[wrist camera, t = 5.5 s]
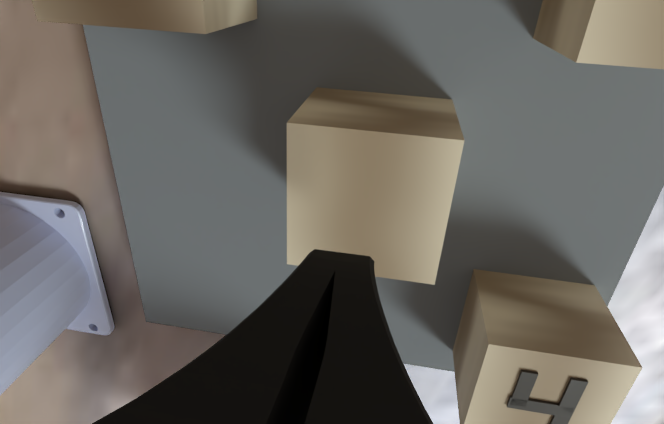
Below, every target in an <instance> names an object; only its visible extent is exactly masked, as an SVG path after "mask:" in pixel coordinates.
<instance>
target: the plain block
mask: <svg viewBox="0 0 664 424" xmlns="http://www.w3.org/2000/svg"><path fill="white" fill-rule="evenodd" d="M464 141H465V140H464V137H463V134H462V130H461V127H460V124H459V120H458V117H457V114H456V110H455V107H454V104H453V100H452V99H441V98H430V97H419V96H408V95H397V94H385V93H374V92H363V91H352V90H341V89H330V88H318V87H316V89H315V90H314V91H313V92H312V93H311V95H310V96H309V97H308V98H307V99H306V100H305V102H304V103H303V104H302V105H301V106H300V108H299V109H298V110H297V111H296V112H295V113H294V115H293V116H292V117H291V118H290V119H289V120H288V122H287V264H289V265H296V266H299V265H300V263H301V262H302V261H303V260H304V259H305V258H306V256H307V255H308V254H309V253H310V252H311V251H313V250H314V249H318V250H326V251H333V252H341V253H349V254H357V255H365V256H370V257H371V258H372V259H373V260H374V272H375V277H382V278H390V279H397V280H404V281H411V282H418V283H425V284H432V285H435V280H436V276H437V271H438V266H439V261H440V256H441V252H442V247H443V242H444V237H445V232H446V227H447V223H448V218H449V213H450V208H451V203H452V198H453V194H454V189H455V184H456V179H457V174H458V170H459V165H460V160H461V155H462V150H463V145H464Z"/></svg>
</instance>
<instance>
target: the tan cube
mask: <svg viewBox="0 0 664 424" xmlns="http://www.w3.org/2000/svg"><path fill="white" fill-rule="evenodd" d="M32 3H33V7H34V11H35V15H36V18H37V21H42V22H55V23H68V24H81V25H94V26H107V27H120V28H133V29H146V30H159V31H172V32H185V33H198V34H208V33H211V32H215V31H218V30H222V29H225V28H228V27H232V26H235V25H238V24H242V23H245V22H248V21H252V20H255V19H257V0H32Z"/></svg>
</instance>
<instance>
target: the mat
mask: <svg viewBox="0 0 664 424" xmlns="http://www.w3.org/2000/svg"><path fill="white" fill-rule="evenodd" d="M542 2H543V0H257V19H255V20H252V21H248V22H245V23H242V24H238V25H235V26H232V27H228V28H225V29H222V30H218V31H215V32H211V33H208V34H198V33H185V32H172V31H159V30H146V29H133V28H120V27H107V26H94V25H83V28H84V32H85V37H86V42H87V47H88V51H89V56H90V61H91V65H92V70H93V75H94V79H95V84H96V89H97V93H98V98H99V103H100V107H101V112H102V117H103V122H104V126H105V131H106V136H107V140H108V145H109V150H110V154H111V159H112V164H113V168H114V173H115V178H116V182H117V187H118V192H119V196H120V201H121V206H122V211H123V215H124V220H125V225H126V229H127V234H128V239H129V243H130V248H131V253H132V257H133V262H134V267H135V271H136V276H137V281H138V286H139V290H140V295H141V300H142V304H143V309H144V314H145V318H146V322H151V323H158V324H164V325H170V326H176V327H182V328H188V329H195V330H201V331H207V332H213V333H219V334H225V335H227V334H228V333H229V332H230V331H232V330H233V329H234V328H235V327H236V326H237V325H238V324H240V323H241V322H242V321H243V320H244V319H245V318H246V317H248V316H249V315H250V314H251V313H252V312H253V311H254V310H256V309H257V308H258V307H259V306H260V305H261V304H262V303H263V302H264V301H265V300H266V299H267V298H268V297H269V296H270V295H271V294H272V293H273V292H274V291H275V290H276V289H277V288H278V287H279V286H280V285H281V284H282V283H283V282H284V281H285V280H286V279H287V278H288V277H289V276H290V275H291V273H292V272H293V271H294V270H295V269H296V268H297V267H298V266H296V265H289V264H287V122H288V120H289V119H290V118H291V117H292V116H293V115H294V113H295V112H296V111H297V110H298V109H299V108H300V106H301V105H302V104H303V103H304V102H305V100H306V99H307V98H308V97H309V96H310V95H311V93H312V92H313V91H314V90H315V89H316V87H318V88H330V89H341V90H352V91H363V92H374V93H385V94H397V95H408V96H419V97H430V98H441V99H452V100H453V104H454V107H455V110H456V114H457V117H458V120H459V124H460V127H461V130H462V134H463V137H464V140H465V141H464V145H463V150H462V155H461V160H460V165H459V170H458V174H457V179H456V184H455V189H454V194H453V198H452V203H451V208H450V213H449V218H448V223H447V227H446V232H445V237H444V242H443V247H442V252H441V256H440V261H439V266H438V271H437V276H436V280H435V285H432V284H425V283H418V282H411V281H404V280H397V279H390V278H382V277H375V279H376V285H377V289H378V293H379V297H380V301H381V305H382V308H383V311H384V314H385V317H386V320H387V323H388V326H389V329H390V332H391V335H392V337H393V340H394V343H395V345H396V348H397V350H398V353H399V355H400V357H401V360H402V362H403V363H404V364H410V365H417V366H423V367H429V368H435V369H441V370H447V371H454V372H455V369H454V360H453V348H454V344H455V340H456V336H457V332H458V328H459V324H460V320H461V316H462V313H463V309H464V305H465V301H466V297H467V293H468V289H469V285H470V282H471V278H472V274H473V270H474V269H477V270H484V271H492V272H499V273H507V274H514V275H522V276H529V277H537V278H544V279H552V280H559V281H566V282H574V283H581V284H589V285H595V287H596V288H597V290H598V292H599V294H600V295H601V297H602V299H603V300H604V302H605V304H606V306H608V303H609V301H610V299H611V297H612V295H613V293H614V291H615V288H616V286H617V284H618V282H619V280H620V278H621V276H622V273H623V271H624V269H625V267H626V265H627V263H628V261H629V259H630V256H631V254H632V252H633V250H634V248H635V246H636V244H637V241H638V239H639V237H640V235H641V233H642V231H643V229H644V226H645V224H646V222H647V220H648V218H649V216H650V214H651V211H652V209H653V207H654V205H655V203H656V201H657V199H658V196H659V194H660V192H661V190H662V188H663V186H664V69H652V68H639V67H626V66H613V65H600V64H587V63H576V62H574V61H572V60H571V59H569V58H567V57H565V56H563V55H562V54H560V53H558V52H556V51H554V50H553V49H551V48H549V47H547V46H545V45H544V44H542V43H540V42H538V41H536V40H535V39H533V37H534V33H535V29H536V25H537V21H538V17H539V13H540V9H541V5H542Z"/></svg>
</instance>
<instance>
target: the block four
mask: <svg viewBox="0 0 664 424" xmlns="http://www.w3.org/2000/svg"><path fill="white" fill-rule="evenodd" d="M453 360H454V369H455V379H456V389H457V399H458V409H459V419H460V424H611V422H612V420H613V418H614V417H615V415H616V413H617V411H618V410H619V408H620V406H621V404H622V403H623V401H624V399H625V397H626V396H627V394H628V392H629V390H630V389H631V387H632V385H633V383H634V381H635V380H636V378H637V376H638V374H639V373H640V371H641V369H642V366H641V365H640V363H639V361H638V359H637V358H636V356H635V354H634V352H633V351H632V349H631V347H630V346H629V344H628V342H627V340H626V339H625V337H624V335H623V333H622V332H621V330H620V328H619V326H618V325H617V323H616V321H615V320H614V318H613V316H612V314H611V313H610V311H609V309H608V307H607V306H606V304H605V302H604V300H603V299H602V297H601V295H600V294H599V292H598V290H597V288H596V287H595V285H589V284H581V283H574V282H566V281H559V280H552V279H544V278H537V277H529V276H522V275H514V274H507V273H499V272H492V271H484V270H477V269H474V270H473V274H472V278H471V282H470V285H469V289H468V293H467V297H466V301H465V305H464V309H463V313H462V316H461V320H460V324H459V328H458V332H457V336H456V340H455V344H454V348H453Z"/></svg>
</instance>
